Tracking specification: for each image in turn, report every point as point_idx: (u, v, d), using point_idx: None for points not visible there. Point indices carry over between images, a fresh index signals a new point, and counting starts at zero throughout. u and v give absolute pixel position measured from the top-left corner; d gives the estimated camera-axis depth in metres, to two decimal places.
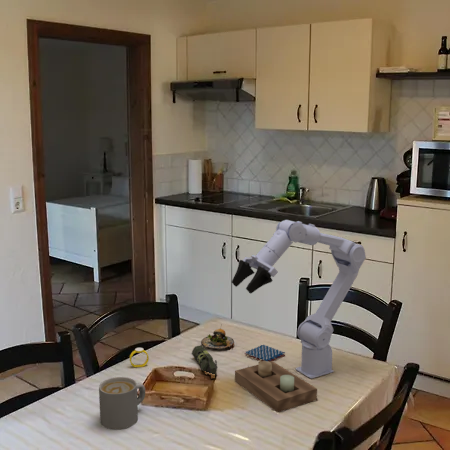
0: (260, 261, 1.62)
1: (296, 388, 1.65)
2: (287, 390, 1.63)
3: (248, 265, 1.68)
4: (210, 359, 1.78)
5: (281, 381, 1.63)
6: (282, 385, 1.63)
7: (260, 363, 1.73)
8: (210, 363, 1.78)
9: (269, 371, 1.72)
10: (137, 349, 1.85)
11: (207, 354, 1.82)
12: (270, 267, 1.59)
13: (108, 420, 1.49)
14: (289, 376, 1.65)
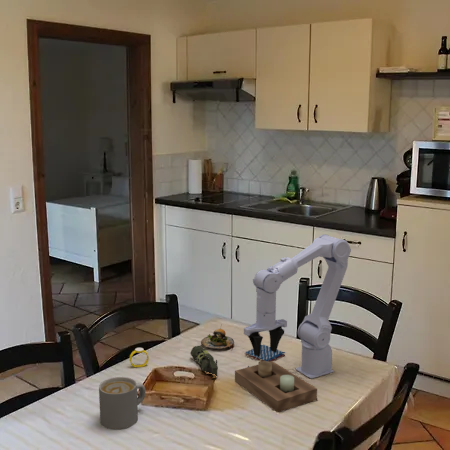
0: None
1: (296, 388, 1.65)
2: (287, 390, 1.63)
3: (272, 328, 1.73)
4: (211, 359, 1.79)
5: (281, 381, 1.63)
6: (282, 385, 1.63)
7: (260, 363, 1.73)
8: (211, 363, 1.78)
9: (269, 371, 1.72)
10: (137, 349, 1.85)
11: (207, 354, 1.82)
12: None
13: (108, 420, 1.49)
14: (289, 376, 1.65)
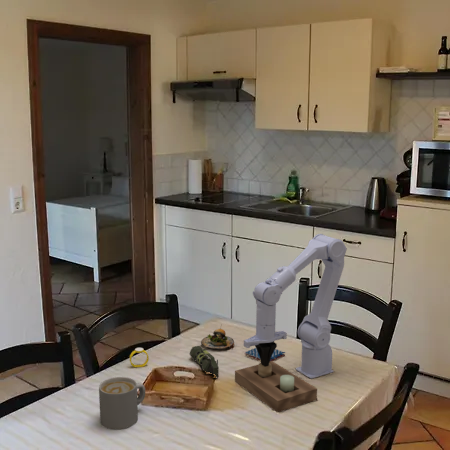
0: None
1: (296, 388, 1.65)
2: (287, 390, 1.63)
3: None
4: (212, 359, 1.79)
5: (281, 381, 1.63)
6: (282, 385, 1.63)
7: (260, 364, 1.74)
8: (212, 363, 1.78)
9: (269, 372, 1.72)
10: (137, 349, 1.85)
11: (208, 354, 1.82)
12: None
13: (108, 420, 1.49)
14: (289, 376, 1.65)
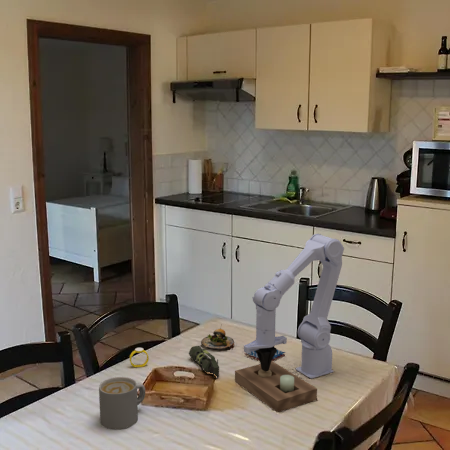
0: None
1: (296, 388, 1.65)
2: (287, 390, 1.63)
3: None
4: (212, 358, 1.79)
5: (281, 381, 1.63)
6: (282, 385, 1.63)
7: (260, 371, 1.74)
8: (213, 362, 1.78)
9: None
10: (137, 349, 1.85)
11: (208, 354, 1.82)
12: None
13: (108, 420, 1.49)
14: (289, 376, 1.65)
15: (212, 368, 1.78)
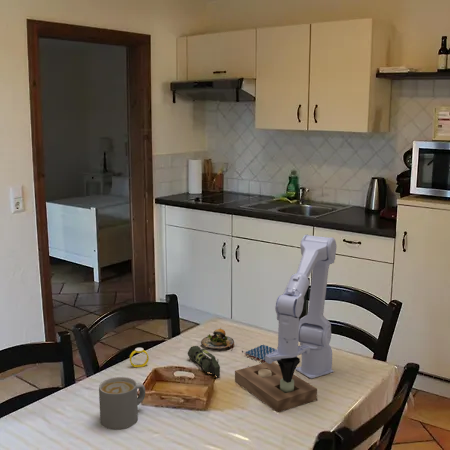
0: None
1: (296, 388, 1.65)
2: None
3: None
4: (213, 358, 1.79)
5: (281, 384, 1.64)
6: (282, 388, 1.63)
7: (260, 371, 1.74)
8: (213, 362, 1.78)
9: None
10: (137, 349, 1.85)
11: (208, 353, 1.82)
12: None
13: (108, 420, 1.49)
14: None
15: (213, 368, 1.78)
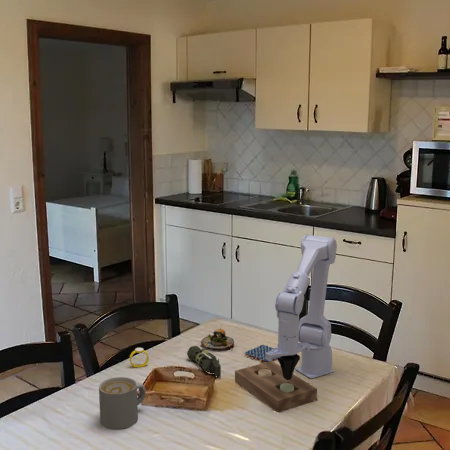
0: None
1: (296, 388, 1.65)
2: None
3: None
4: (213, 358, 1.79)
5: (281, 389, 1.64)
6: None
7: (260, 371, 1.74)
8: (214, 362, 1.78)
9: None
10: (137, 349, 1.85)
11: (208, 353, 1.82)
12: None
13: (108, 420, 1.49)
14: (289, 384, 1.65)
15: (213, 368, 1.78)
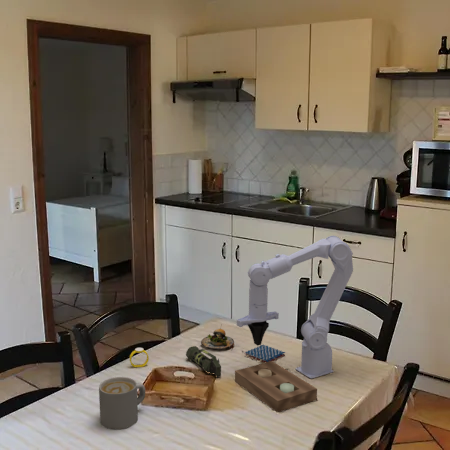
0: None
1: (296, 388, 1.65)
2: None
3: (257, 322, 1.79)
4: (213, 358, 1.79)
5: (281, 389, 1.64)
6: None
7: (260, 371, 1.74)
8: (214, 362, 1.78)
9: None
10: (137, 349, 1.85)
11: (208, 353, 1.82)
12: None
13: (108, 420, 1.49)
14: (289, 384, 1.65)
15: (214, 368, 1.78)
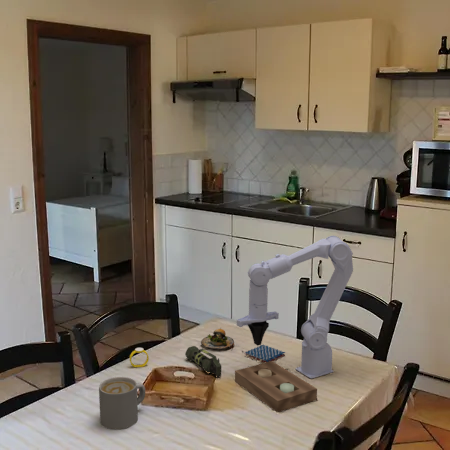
0: None
1: (296, 388, 1.65)
2: None
3: (257, 322, 1.79)
4: (214, 358, 1.79)
5: (281, 389, 1.64)
6: None
7: (260, 371, 1.74)
8: (215, 362, 1.78)
9: None
10: (137, 349, 1.85)
11: (208, 353, 1.82)
12: None
13: (108, 420, 1.49)
14: (289, 384, 1.65)
15: (214, 367, 1.79)
